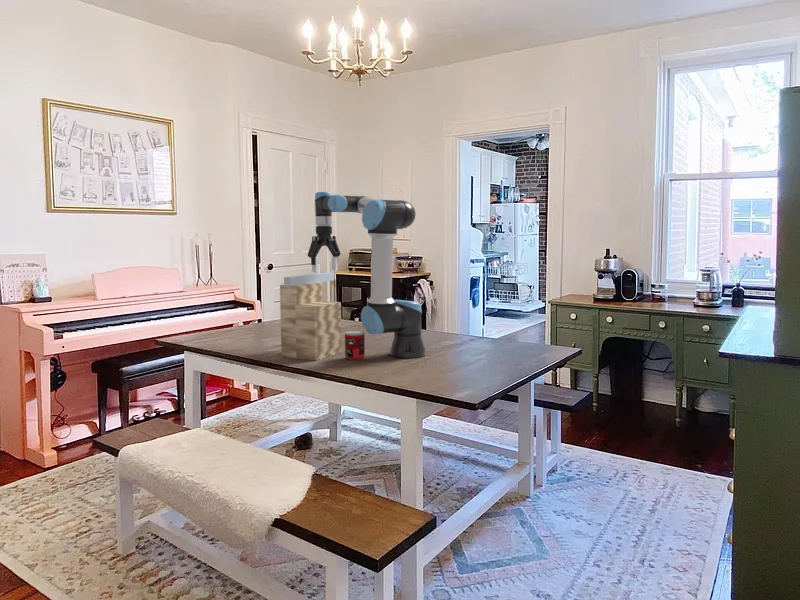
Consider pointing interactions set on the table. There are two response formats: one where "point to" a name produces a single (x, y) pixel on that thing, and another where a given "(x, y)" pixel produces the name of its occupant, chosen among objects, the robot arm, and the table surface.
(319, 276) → the rail
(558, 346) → the table surface
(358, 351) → the canned food
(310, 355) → the stand
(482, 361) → the table surface
